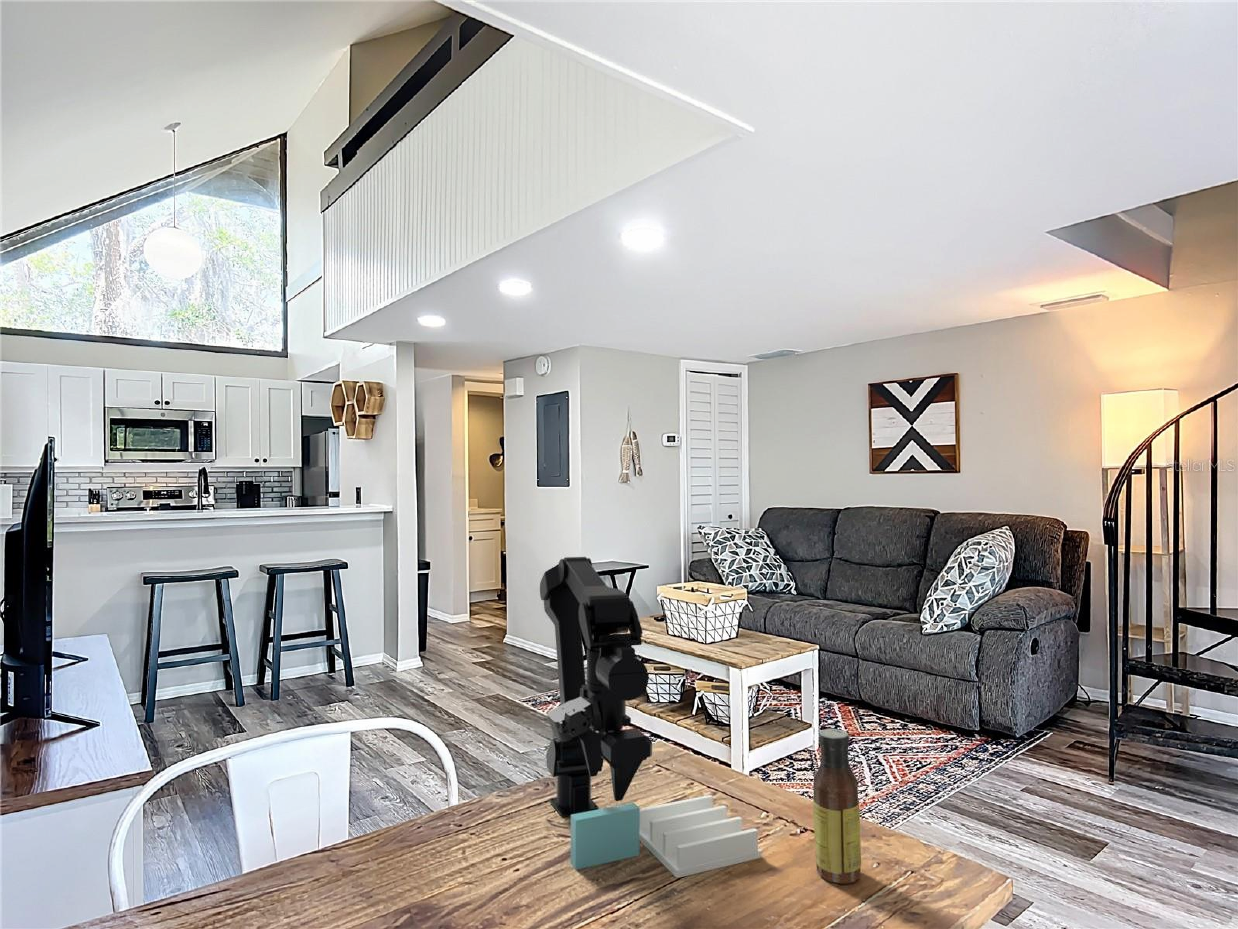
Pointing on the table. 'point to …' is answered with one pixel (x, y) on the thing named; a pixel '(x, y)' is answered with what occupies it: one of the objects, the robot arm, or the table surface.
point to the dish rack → (696, 836)
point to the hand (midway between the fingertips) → (605, 787)
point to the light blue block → (604, 835)
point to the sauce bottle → (836, 811)
